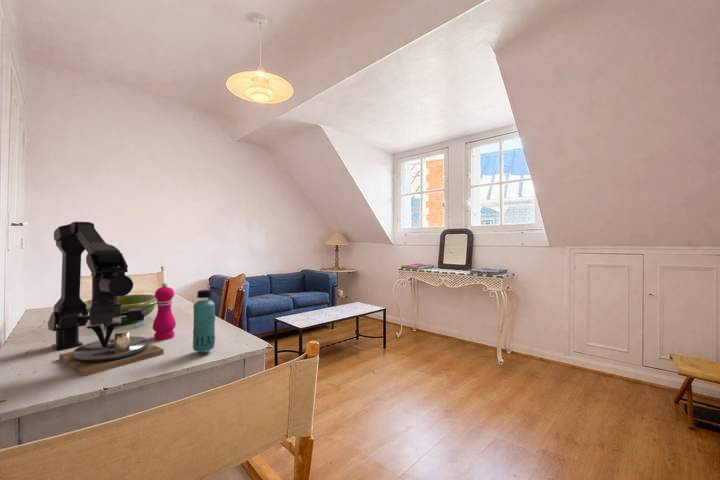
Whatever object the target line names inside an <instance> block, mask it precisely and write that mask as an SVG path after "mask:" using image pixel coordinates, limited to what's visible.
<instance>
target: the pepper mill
mask: <svg viewBox="0 0 720 480" xmlns="http://www.w3.org/2000/svg"><path fill="white" fill-rule="evenodd" d="M173 289H174V288H172V287H170V286H169V287H168V283H167V282H163V283H162V284H161V287H159V288H158V289H156V291H155V292H154V298H155V299H156V300H157V301H156V304H155V305H156V306H157V313H156V316H155V318H154V321H153V322H152V323H153V324H152V330H153V331H154V334H153V339H154V340H155V341H166V340H170V339H172V338H174V337H175V331H174V329H175V328H176V326H177V325H176V324H177V323H176V319H175V316H174V314H173V313H172V304H173V298H174V296H175V291H174V290H173Z"/></svg>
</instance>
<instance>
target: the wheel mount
mask: <svg viewBox="0 0 720 480" xmlns="http://www.w3.org/2000/svg"><path fill="white" fill-rule="evenodd" d="M164 353H165V352H164V348H162V347H159V346H158V345H154V344H152V343H150V342H148V347H147V348H146V349H145V350H144V351H142V352H139V353H137V354H134V355H131V356H128V357H124V358H120V359H115V360H110V361H102V362H79V361H76V360H74V350H73V351H68V352H64V353H59V355H58V356H59V357H58V359H59V360H60V361H61V362H62V363H64V364H65V365H66V366H68V367H69V368H70V369H72V370H73V371H74V372H75V373H77V375H78V374H79V375H80V376H81V377H85V376H91V375H93V374H96V373H100V372H104V371H107V370H111V369H114V368H118V367H121V366H125V365H129V364H132V363H136V362H140V361H144V360H147V359H152V358H154V357H159V356H161V355H164Z"/></svg>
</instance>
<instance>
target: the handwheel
mask: <svg viewBox="0 0 720 480" xmlns="http://www.w3.org/2000/svg"><path fill="white" fill-rule="evenodd" d="M148 343H149V339H148V338H146V337H144V336H143V337H142V336H133V335H132V336H131V331H130V330H122V331H117V332H114V335H111V336H110V339H109V342H108V345H107V347H106V348H103V347H102V345H101V343H100V340H99V339H98V340H96V341H93V342H88V343H86V344H83V345H80V346H79V347H76V348H75V349H74V350H73V351H74V360H76V361H79V362H102V361H110V360H115V359H120V358H124V357H128V356H131V355H134V354H137V353H139V352H142V351H144V350H145V349H146V348H147V347H148Z"/></svg>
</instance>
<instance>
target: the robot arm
mask: <svg viewBox="0 0 720 480" xmlns="http://www.w3.org/2000/svg"><path fill="white" fill-rule="evenodd" d="M53 240H54V241H55V246H56V247H57V249H58V250H59V251H60V253H61V254H62V256H61V260H62V261H61V286H60V287H61V289H60V293H61V294H60V298H59V299H58V301H57V302H55V304H54V305H53V312H51V314H50V316H49V319H48V322H47V327H48V330H49V331H51V332H55V343H54V344H51V347H52V348H54V350H56V351H60V350H65V349H70V348H76V347H78V346H79V347H81V346H83V345H84V344H83V342H81V341H80V327H84V326H86V329H91V330H92V331H93V332H94V333H95V335H96V336H97V338H98V341H99V340H100V343H101V345H102V347H103V348H106V347H107V345H108V342H109V339H110V336H112V333H113V332H114V330H115V328H116V327H117V326H120V325H121V323H122V320H124V319H127V320H128V321H130V322H136V321H144V319H145V308H144V307H132V308H130V307H129V308H128V310H127V311H123V307H122V306H123V305H122V303H118V297H124V296H127V295H129V294H130V293H131V291H132V290H133V288H134V282H133V279H132V278H130V277H129V276H127V275H126V273H128V272H129V271H128V267H129V266H128V264H127V261H126V260H125V258H124V255H123V253H121V251H120V249H118V248H117V247H116V246H114V245H111V244H108V243H106V241H105V240H104V239H103V237H102V236H101V235H100V234H99V232H98V231H97V230H96V228H95V223H93V222H91V221H72V222H71V223H69V224H64V225H61V226H58V227H57V228H56V229H55V230H54V231H53ZM84 251H86V252H87V254H86V256H85V257H86V258H85V262H86V265H87V267H88V269H89V271H90V272H91V274H90V276H91V287H92V288H91V306H90V307H89V311H88V309H87V304H86V303H85V302H84V301H83V300H82V298H81V275H82V271H81V270H82V254H83V253H84ZM104 324H105V325H106V332H105V326H104Z"/></svg>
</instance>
